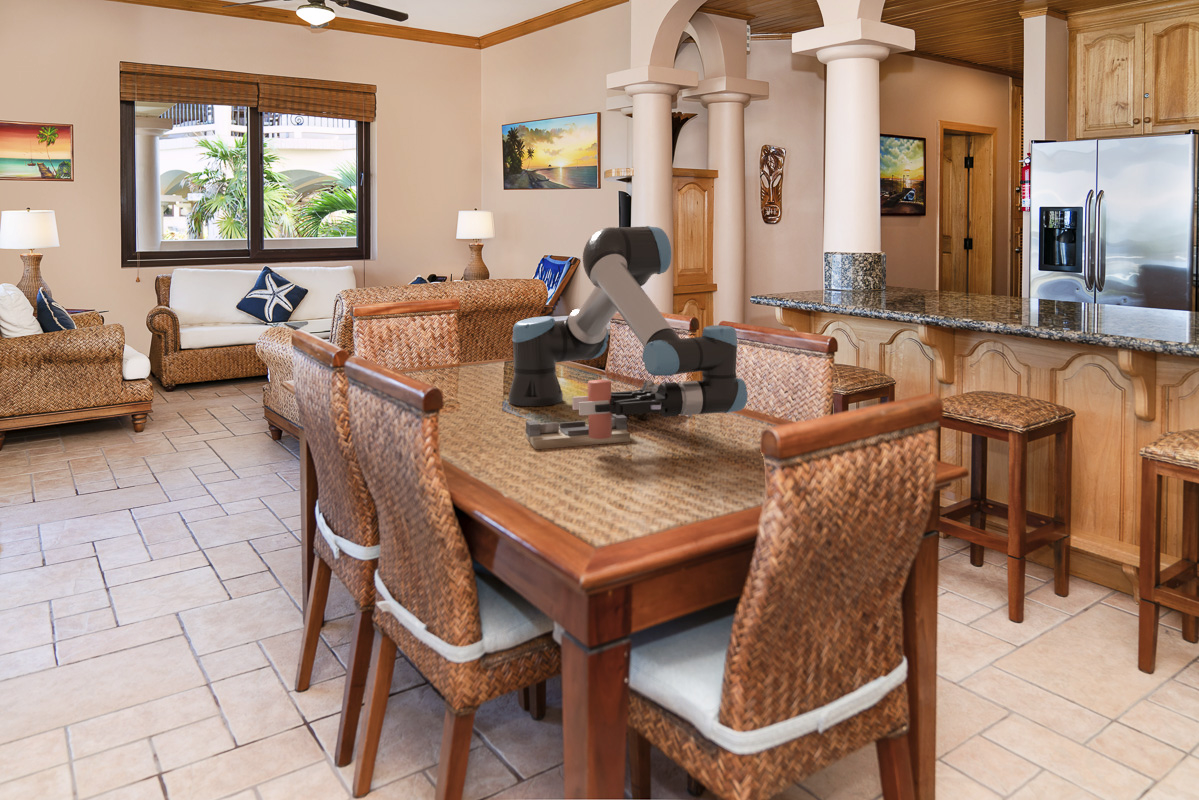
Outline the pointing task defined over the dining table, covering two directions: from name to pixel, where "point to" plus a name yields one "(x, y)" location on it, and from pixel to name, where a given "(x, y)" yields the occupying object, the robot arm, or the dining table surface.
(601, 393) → the red tall block
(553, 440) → the beige and grey fixture
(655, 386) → the mineral specimen
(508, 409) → the dining table surface
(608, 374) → the dining table surface
